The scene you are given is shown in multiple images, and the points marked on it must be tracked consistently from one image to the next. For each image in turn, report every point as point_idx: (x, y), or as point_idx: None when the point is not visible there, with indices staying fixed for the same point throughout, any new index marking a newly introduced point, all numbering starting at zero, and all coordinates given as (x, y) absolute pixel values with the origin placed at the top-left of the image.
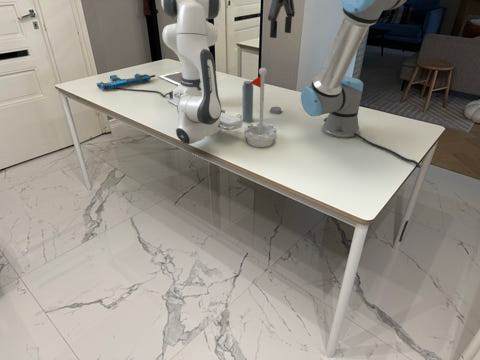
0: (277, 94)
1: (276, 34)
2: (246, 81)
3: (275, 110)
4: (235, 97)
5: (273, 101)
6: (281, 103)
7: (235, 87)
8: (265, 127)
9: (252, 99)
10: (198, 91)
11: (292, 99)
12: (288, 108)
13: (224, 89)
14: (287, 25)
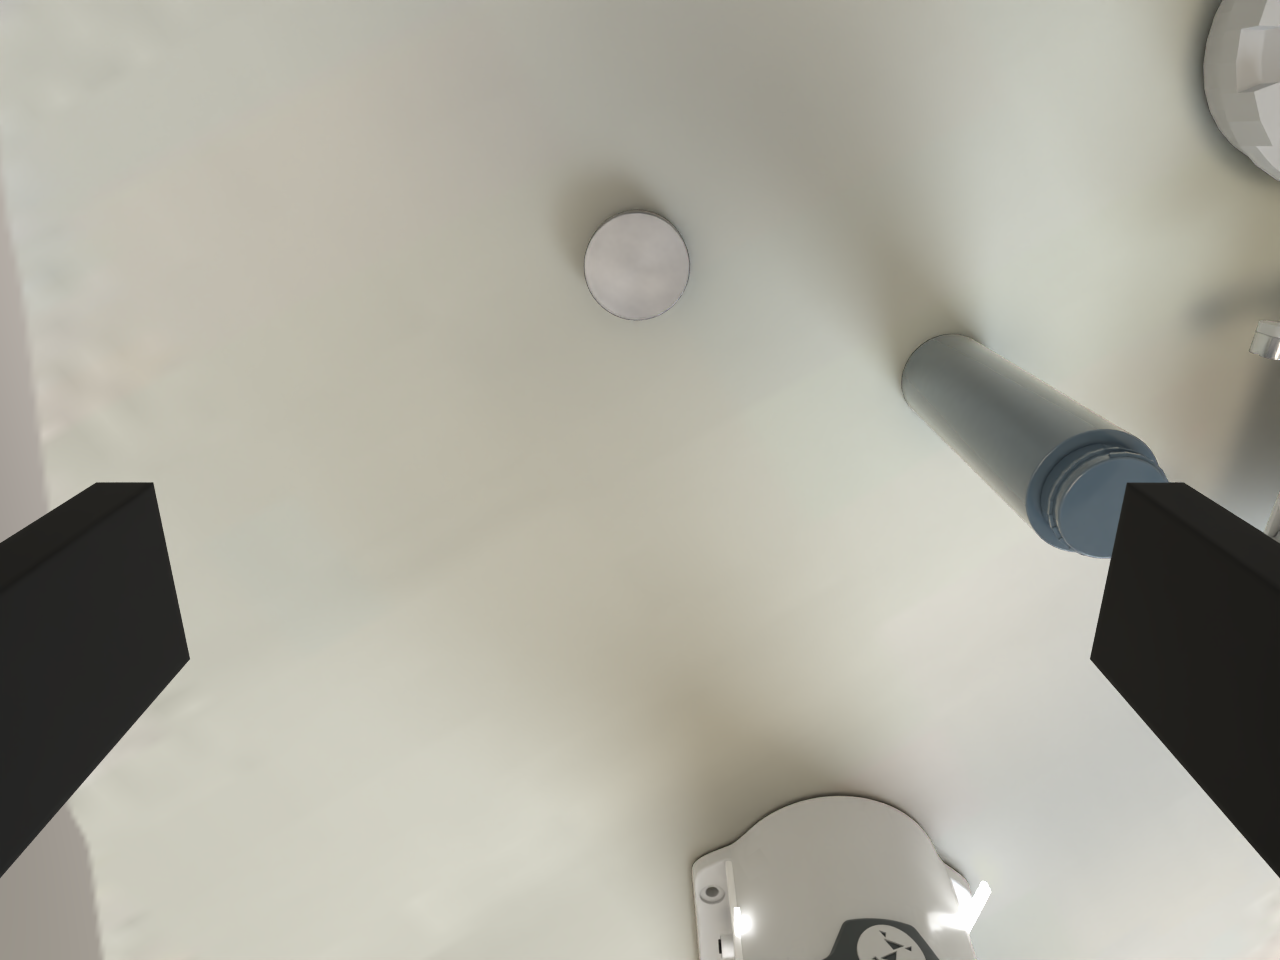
0: (216, 472)
1: (1195, 524)
2: (1098, 535)
3: (685, 245)
4: (532, 727)
5: (408, 412)
6: (406, 321)
7: (323, 848)
8: (1257, 54)
9: (1031, 385)
10: (915, 922)
11: (235, 279)
12: (483, 196)
13: (425, 887)
14: (36, 717)
